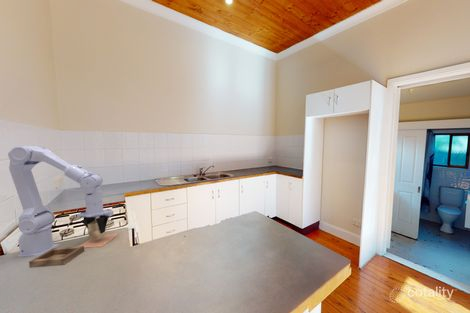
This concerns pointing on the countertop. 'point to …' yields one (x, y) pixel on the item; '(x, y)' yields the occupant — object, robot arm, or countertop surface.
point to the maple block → (94, 231)
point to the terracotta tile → (98, 241)
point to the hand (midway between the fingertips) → (97, 232)
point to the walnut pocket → (56, 256)
